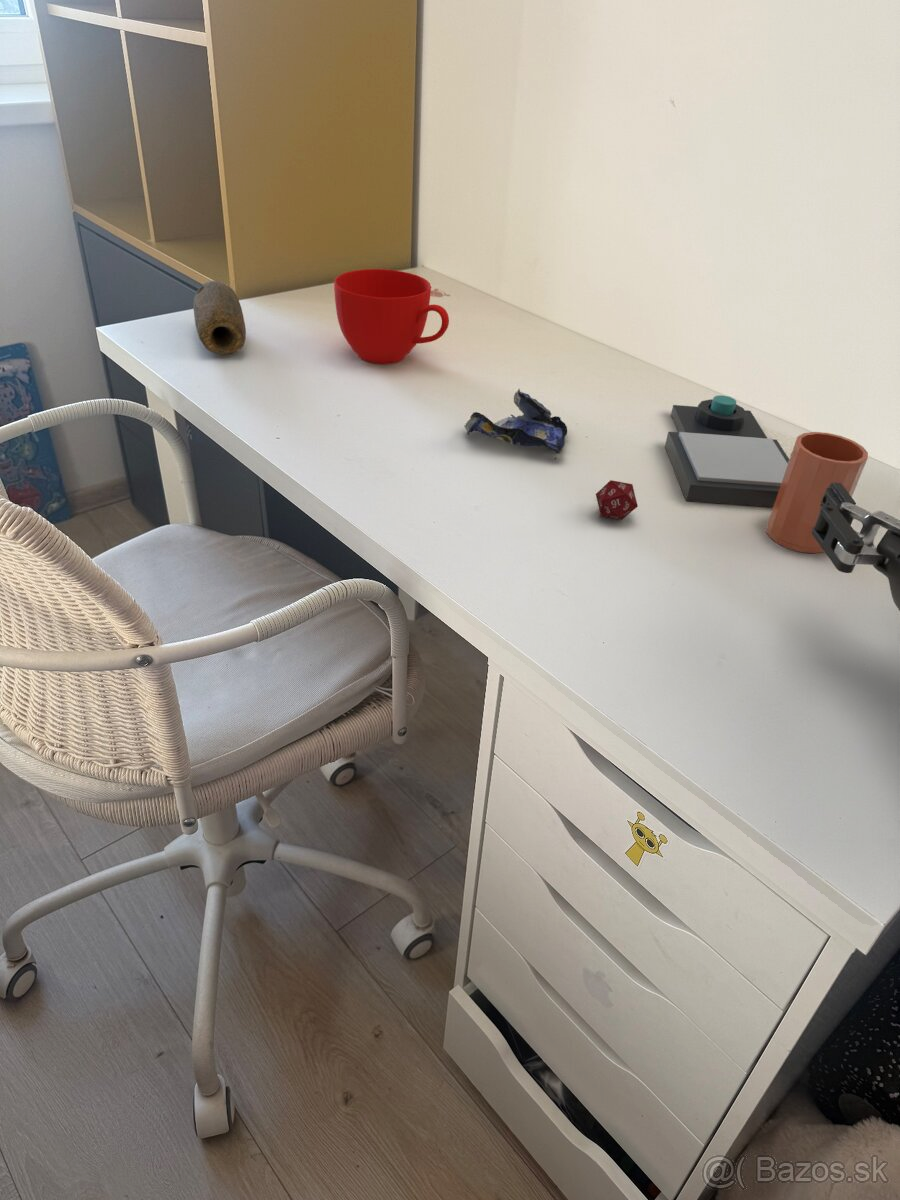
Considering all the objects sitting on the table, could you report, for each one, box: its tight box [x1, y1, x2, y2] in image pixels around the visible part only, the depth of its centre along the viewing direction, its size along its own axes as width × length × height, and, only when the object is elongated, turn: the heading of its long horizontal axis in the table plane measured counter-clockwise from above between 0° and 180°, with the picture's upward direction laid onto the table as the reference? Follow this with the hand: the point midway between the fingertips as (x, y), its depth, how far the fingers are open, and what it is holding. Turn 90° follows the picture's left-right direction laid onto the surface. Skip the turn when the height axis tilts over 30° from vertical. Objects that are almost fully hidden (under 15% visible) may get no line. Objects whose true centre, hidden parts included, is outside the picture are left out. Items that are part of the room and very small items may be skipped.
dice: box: [595, 479, 639, 521], centre depth 84 cm, size 4×4×4 cm
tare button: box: [710, 394, 737, 415], centre depth 102 cm, size 3×3×2 cm
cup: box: [765, 431, 869, 554], centre depth 82 cm, size 6×6×10 cm
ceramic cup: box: [333, 268, 450, 365], centre depth 113 cm, size 13×17×10 cm
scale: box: [664, 431, 790, 508], centre depth 94 cm, size 13×13×2 cm
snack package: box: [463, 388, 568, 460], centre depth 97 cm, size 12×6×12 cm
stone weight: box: [192, 280, 247, 355], centre depth 115 cm, size 15×7×7 cm, turn 20°
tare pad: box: [670, 398, 768, 439], centre depth 103 cm, size 10×8×3 cm
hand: (881, 496), depth 69 cm, fingers open, 8 cm apart
